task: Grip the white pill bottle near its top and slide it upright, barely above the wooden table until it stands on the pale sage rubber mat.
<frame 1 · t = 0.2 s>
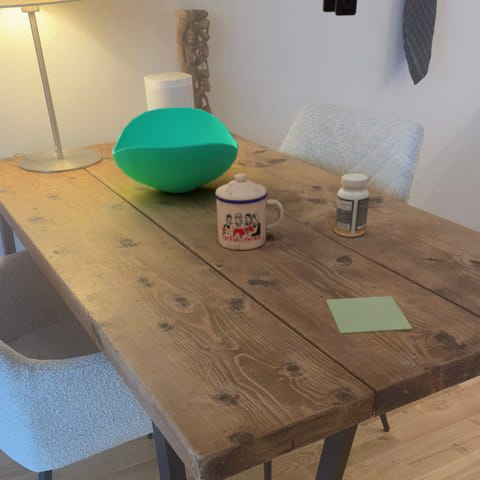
hand: (338, 13, 91), 33 cm above the table, tool pointing down, fingers open, 9 cm apart
pill bottle: (349, 233, 106), on the table
mat: (367, 314, 81), on the table
table top decor: (179, 189, 130), on the table
teacup with lid: (249, 242, 103), on the table
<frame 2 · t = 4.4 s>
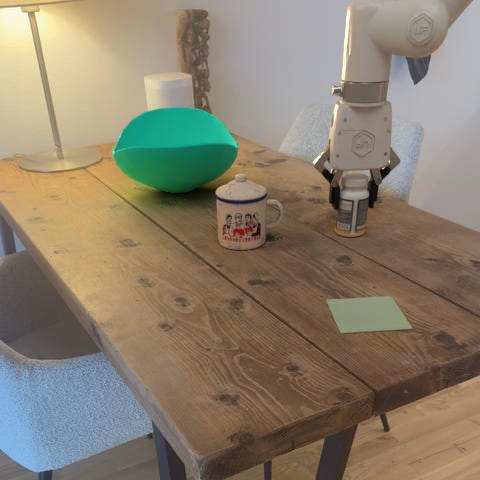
hand: (352, 205, 103), 5 cm above the table, tool pointing down, fingers closed on pill bottle, 5 cm apart
pill bottle: (349, 233, 106), on the table, touching gripper
everything else where it was.
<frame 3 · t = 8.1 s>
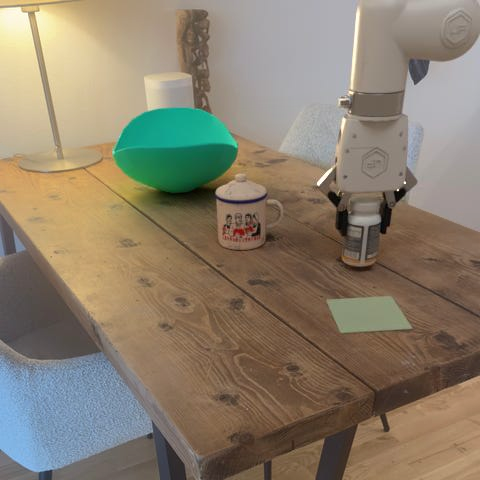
hand: (361, 231, 90), 6 cm above the table, tool pointing down, fingers closed on pill bottle, 5 cm apart
pill bottle: (358, 262, 93), point 1 cm above the table, touching gripper
everything else where it was.
when the fingers open (5 cm above the table, at t = 12.1 s): pill bottle stays where it is, resting on mat.
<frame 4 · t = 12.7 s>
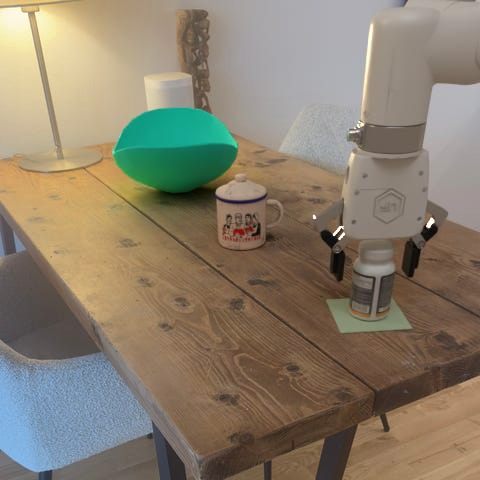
hand: (372, 275, 77), 6 cm above the table, tool pointing down, fingers open, 9 cm apart
pill bottle: (368, 314, 81), resting on mat
everything else where it was.
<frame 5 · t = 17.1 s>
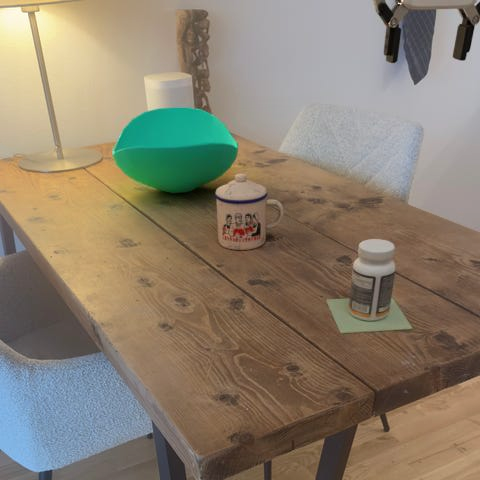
hand: (425, 60, 79), 28 cm above the table, tool pointing down, fingers open, 9 cm apart
nothing on the table moved.
at the end: pill bottle inside the target area on the mat (0.1 cm from its centre), point 0.0 cm above the mat's base; pill bottle tilted 0°; pill bottle moved 32.3 cm from its start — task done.
